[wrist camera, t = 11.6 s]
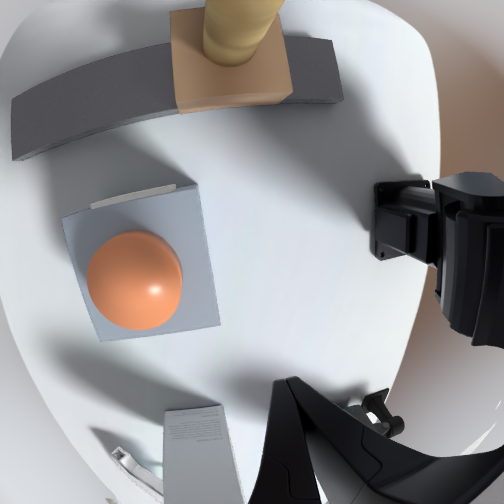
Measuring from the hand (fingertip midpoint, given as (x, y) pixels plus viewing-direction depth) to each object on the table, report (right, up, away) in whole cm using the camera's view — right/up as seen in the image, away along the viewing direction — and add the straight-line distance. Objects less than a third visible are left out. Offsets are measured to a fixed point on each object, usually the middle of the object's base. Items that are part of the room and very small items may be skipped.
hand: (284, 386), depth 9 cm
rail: (-7, +16, +6) cm, 19 cm away
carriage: (-3, +16, +5) cm, 17 cm away
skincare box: (-7, -12, +15) cm, 20 cm away
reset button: (-7, +4, +6) cm, 10 cm away
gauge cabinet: (-8, +5, +9) cm, 13 cm away
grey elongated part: (-13, -23, +17) cm, 32 cm away
